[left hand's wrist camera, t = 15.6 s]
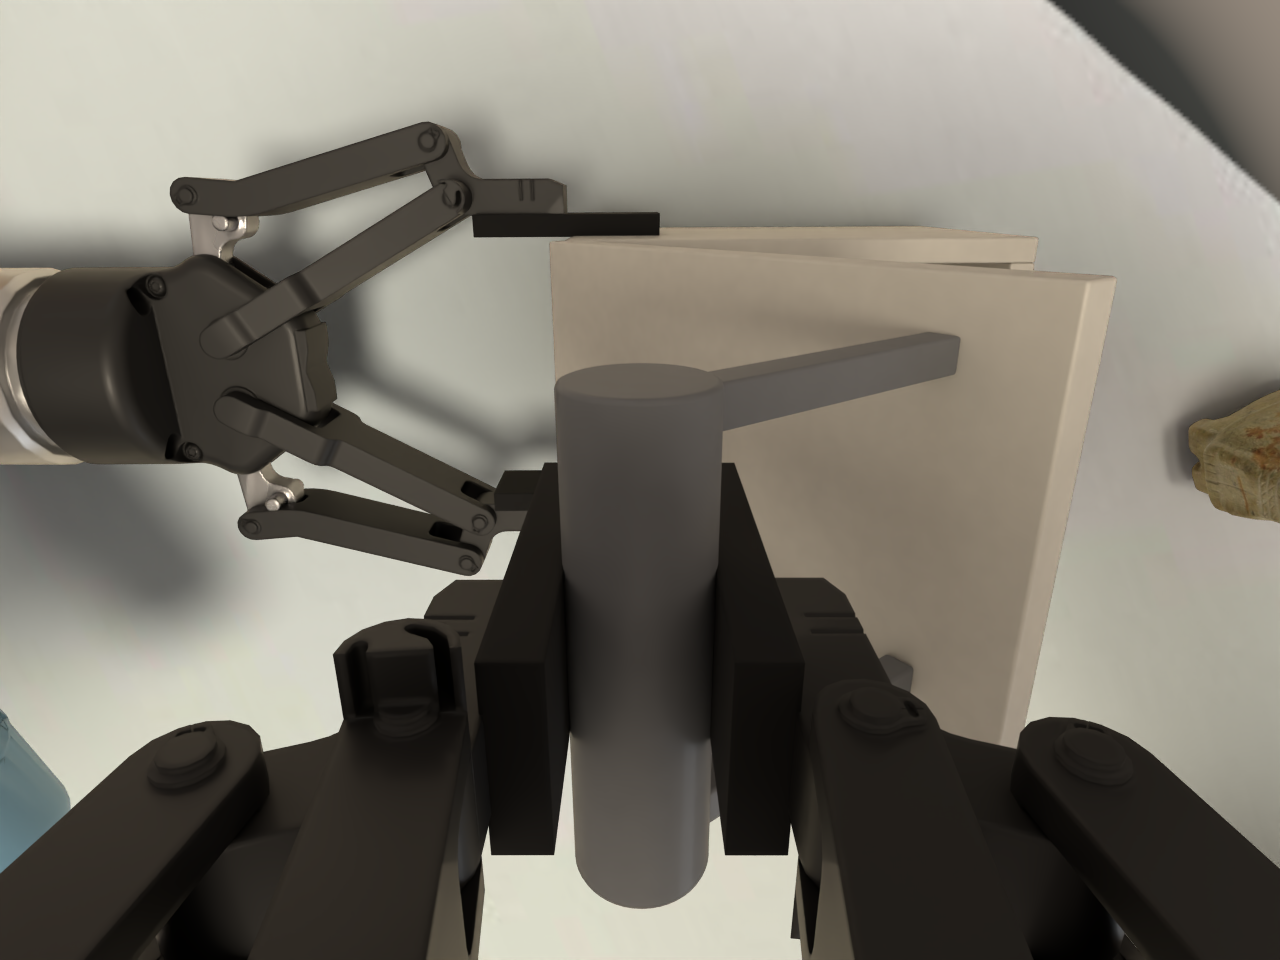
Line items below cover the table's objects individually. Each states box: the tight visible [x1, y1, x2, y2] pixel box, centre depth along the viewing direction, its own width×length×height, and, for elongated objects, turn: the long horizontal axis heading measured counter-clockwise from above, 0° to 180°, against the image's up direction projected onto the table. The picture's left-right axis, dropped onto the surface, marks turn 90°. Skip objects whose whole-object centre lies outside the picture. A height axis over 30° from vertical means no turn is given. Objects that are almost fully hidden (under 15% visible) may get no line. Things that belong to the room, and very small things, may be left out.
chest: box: [565, 226, 1038, 271], centre depth 31 cm, size 15×10×11 cm, turn 90°
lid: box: [549, 240, 1117, 909], centre depth 17 cm, size 16×10×9 cm
